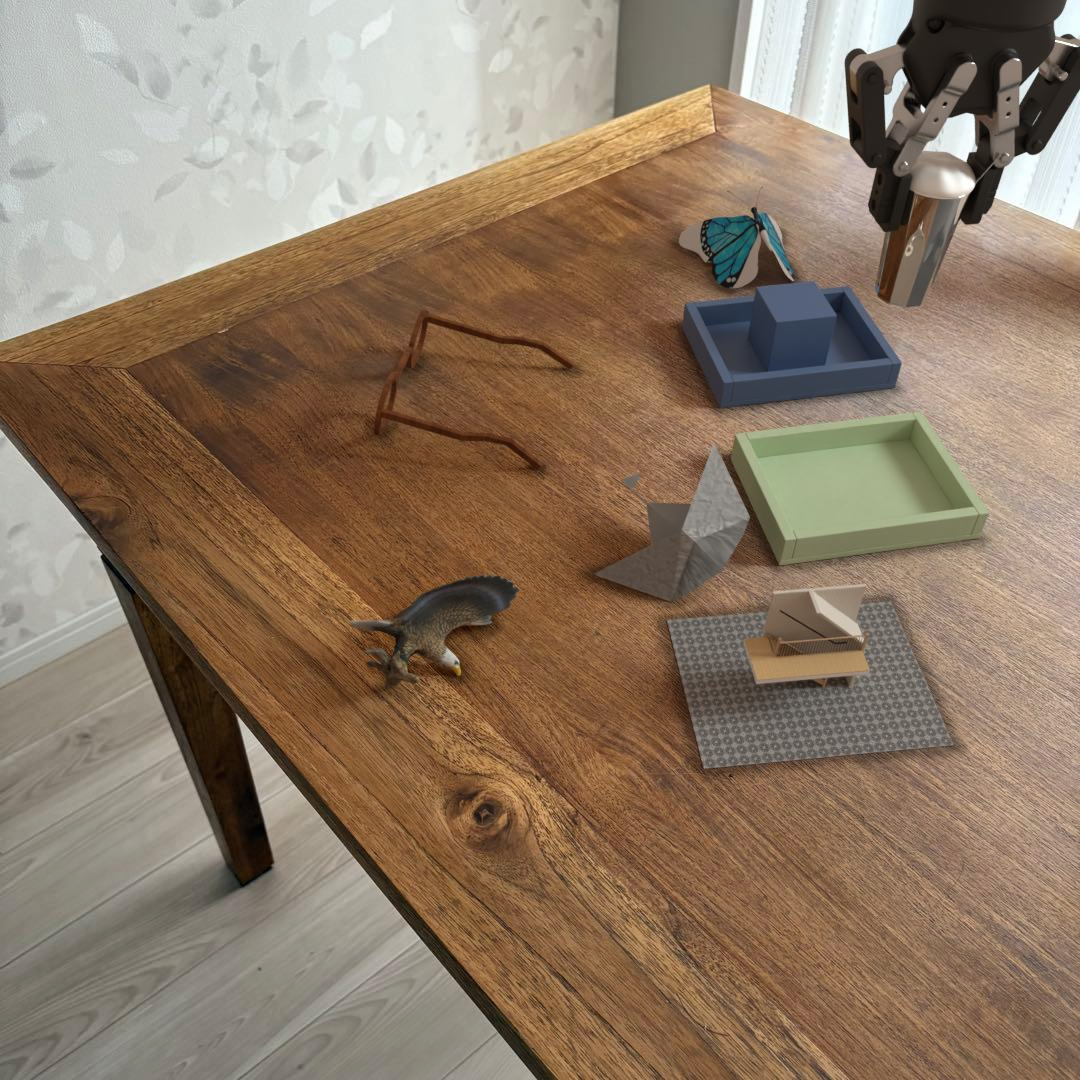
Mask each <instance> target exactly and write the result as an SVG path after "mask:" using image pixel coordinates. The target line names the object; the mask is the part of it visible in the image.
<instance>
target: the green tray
mask: <svg viewBox="0 0 1080 1080" xmlns="http://www.w3.org/2000/svg"><path fill="white" fill-rule="evenodd" d="M730 454H731V455H730V461H731V463H732V466H733V467H734V470H735V472H736V474H737V476H738V479H739V481H740V483H741V485H742V487H743V489H744V491H745V493H746V496H747V498H748V500H749V502H750V505H751V507H752V509H753V511H754V514H755V515H756V517H757V520H758V522H759V524H760V526H761V528H762V530H763V533H764V536H765V538H766V540H767V542H768V544H769V546H770V548H771V551H772V553H773V555H774V557H775V559H776V561H777V564H778V566H785V565H792V564H793V565H795V564H801V563H809V562H815V561H823V560H830V559H837V558H844V557H852V556H858V555H866V554H873V553H882V552H888V551H889V552H890V551H896V550H902V549H910V548H911V549H912V548H916V547H917V548H918V547H924V546H933V545H939V544H946V543H953V542H955V543H956V542H962V541H969V540H977V539H980V538H981V535H982V532H983V530H984V528H985V525H986V523H987V521H988V518H989V515H990V511H989V510H988V509H987V507H986V505H985V504H984V502H983V501H982V499H981V498H980V497H979V495H978V494H977V492H976V490H975V489H974V487H973V486H972V484H971V483H970V481H969V480H968V479H967V477H966V475H965V474H964V473H963V471H962V470H961V468H960V466H959V465H958V463H957V462H956V460H955V459H954V458H953V456H952V454H951V453H950V452H949V450H948V449H947V447H946V445H945V444H944V443H943V441H942V440H941V438H940V437H939V434H937V432H936V431H935V429H934V428H933V426H932V424H931V423H930V422H929V420H928V419H927V417H926V416H925V414H924V413H923V411H914V412H903V413H896V414H895V413H894V414H887V415H880V416H871V417H862V418H854V419H847V420H845V419H844V420H837V421H829V422H820V423H812V424H811V423H810V424H803V425H797V426H787V427H779V428H778V427H777V428H771V429H763V430H762V429H761V430H755V431H754V430H753V431H745V432H738V433H734V437H733V442H732V449H731V453H730Z"/></svg>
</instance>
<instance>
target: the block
mask: <svg viewBox="0 0 1080 1080" xmlns="http://www.w3.org/2000/svg"><path fill="white" fill-rule="evenodd" d="M820 289H821V288H820V287H819V286H818V284H817V283H816V281H814V280H811V281H802V282H791V283H782V284H781V283H780V284H772V285H771V284H770V285H761V286H756V287H755V291H754V296H755V297H754V303H753V309H752V315H751V321H750V327H749V333H748V340H749V341H750V343H751V345H752V347H753V349H754V351H755V353H756V354H757V356H758V358H759V360H760V362H761V364H762V366H763V367H764V369H765V371H766V372H770V371H779V370H788V369H796V368H805V367H814V366H823V365H826V360H827V356H828V352H829V347H830V343H831V339H832V334H833V330H834V326H835V321H836V317H837V315H836V313H835V312H834V310H833V309H832V307H831V306H830V304H829V303H828V301H827V300H826V298H825V296H824V295H823V293H822V292H821V290H820Z"/></svg>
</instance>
